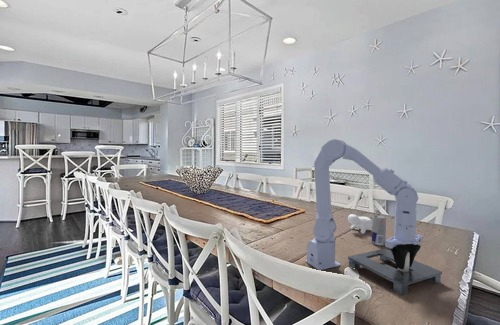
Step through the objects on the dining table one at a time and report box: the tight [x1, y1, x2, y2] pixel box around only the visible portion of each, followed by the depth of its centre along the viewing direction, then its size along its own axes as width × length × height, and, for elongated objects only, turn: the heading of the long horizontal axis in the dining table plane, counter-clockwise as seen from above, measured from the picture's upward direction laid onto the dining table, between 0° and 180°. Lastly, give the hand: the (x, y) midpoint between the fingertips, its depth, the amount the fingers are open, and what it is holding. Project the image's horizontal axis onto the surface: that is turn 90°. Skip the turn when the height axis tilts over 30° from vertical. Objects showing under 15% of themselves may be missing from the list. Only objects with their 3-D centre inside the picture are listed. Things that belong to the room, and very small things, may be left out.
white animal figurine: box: [347, 213, 372, 235], centre depth 129 cm, size 9×8×15 cm
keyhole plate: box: [347, 248, 443, 296], centre depth 84 cm, size 18×20×3 cm
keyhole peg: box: [397, 252, 410, 273], centre depth 80 cm, size 5×5×8 cm
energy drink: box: [371, 214, 387, 247], centre depth 111 cm, size 5×5×12 cm
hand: (403, 266), depth 81 cm, fingers closed on keyhole peg, 3 cm apart
